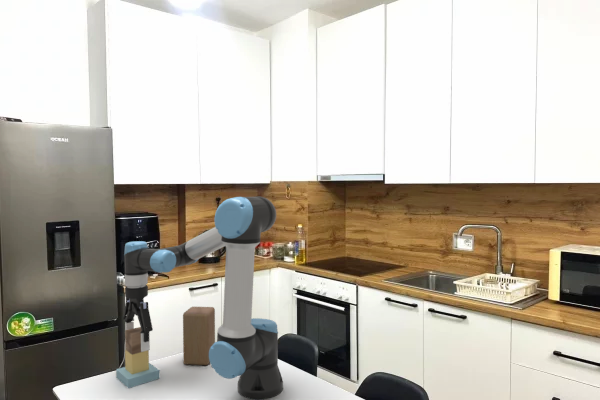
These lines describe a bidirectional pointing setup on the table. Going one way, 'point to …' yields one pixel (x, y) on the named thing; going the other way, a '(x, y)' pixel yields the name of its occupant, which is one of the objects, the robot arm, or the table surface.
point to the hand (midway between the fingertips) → (137, 345)
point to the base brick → (137, 376)
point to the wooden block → (198, 335)
